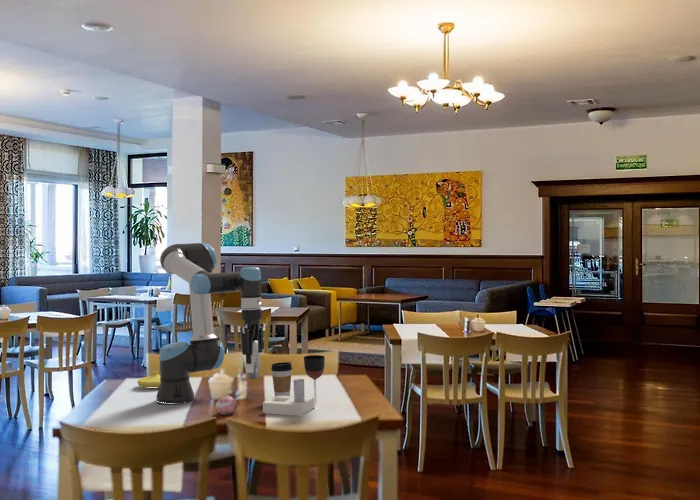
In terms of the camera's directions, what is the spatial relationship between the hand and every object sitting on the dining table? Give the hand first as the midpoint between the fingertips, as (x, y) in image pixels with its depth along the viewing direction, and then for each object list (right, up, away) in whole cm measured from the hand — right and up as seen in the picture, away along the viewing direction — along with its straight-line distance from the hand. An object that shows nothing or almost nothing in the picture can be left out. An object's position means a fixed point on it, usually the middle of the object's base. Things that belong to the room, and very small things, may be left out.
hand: (253, 370), depth 263 cm
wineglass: (+23, -16, +10) cm, 30 cm away
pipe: (0, -3, 0) cm, 3 cm away
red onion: (-11, -17, +3) cm, 20 cm away
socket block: (+13, -16, +6) cm, 21 cm away
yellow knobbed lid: (-52, -17, +54) cm, 77 cm away
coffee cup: (+9, -16, +24) cm, 30 cm away
